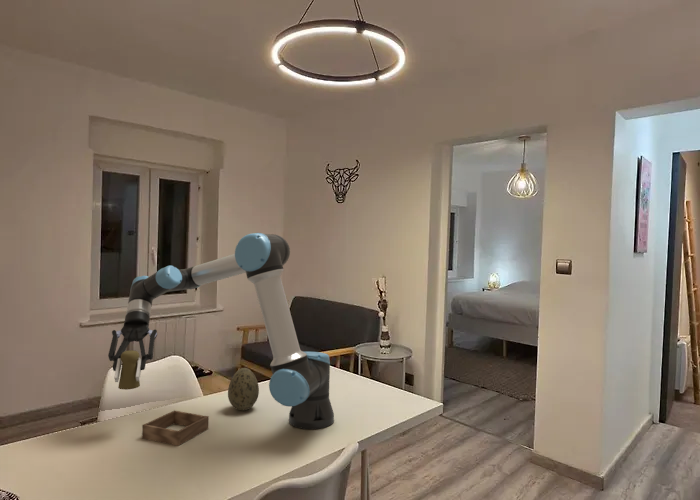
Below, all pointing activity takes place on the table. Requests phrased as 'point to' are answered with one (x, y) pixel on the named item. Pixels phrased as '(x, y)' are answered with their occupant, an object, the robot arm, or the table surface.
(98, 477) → the table surface
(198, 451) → the table surface
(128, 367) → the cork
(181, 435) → the walnut box
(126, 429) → the table surface
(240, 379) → the decorative egg
